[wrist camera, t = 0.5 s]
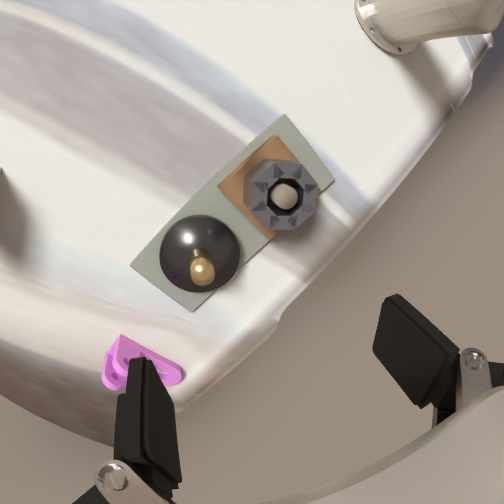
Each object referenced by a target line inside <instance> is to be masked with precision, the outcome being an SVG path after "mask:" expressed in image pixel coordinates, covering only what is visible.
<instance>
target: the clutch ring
mask: <svg viewBox="0 0 504 504" xmlns="http://www.w3.org/2000/svg"><path fill="white" fill-rule="evenodd" d="M279 178H286V179H287V180H288V181H289V182H290V187H292V188H293V189H295V191H296V192H297V196H298V198H297V202H296V204H295V205H294V206H293V207H292V208H290V209H282V208H280V207H279V206H267V193H268V188H269V187H270V186H272V185H273V184H274V183H275V182H276V181H277V180H278V179H279ZM317 192H318V184H317V182H316V181H315V180H314V178H313V177H312V176H311V175H310V173H309V172H308V171H307V169H306V168H305V167H304V166H303V164H301V163H297V162H294V161H290V160H281V159H262V160H261V161H260V162H259V163H258V164H257V165H256V166H255V167H254V168H252V169H251V170H250V171H249V172H248V173H247V174H246V175H245V176H244V188H243V203H244V204H245V205H246V206H247V207H248V208H249V210H250V211H251V212H252V213H253V214H254V215H255V216H256V217H257V218H258V219H259V220H260V221H261V222H262V223H263V224H264V225H265V226H266V227H267V229H268V230H296V229H297V228H298V227H299V226H300V225H301V224H302V223H303V222H304V221H305V220H307V219H308V218H309V217H310V216H311V215H312V214H313V213H314V212H315V208H316V200H317Z"/></svg>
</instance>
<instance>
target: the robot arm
mask: <svg viewBox="0 0 504 504" xmlns="http://www.w3.org/2000/svg"><path fill="white" fill-rule="evenodd" d="M355 12H356V15H357V18H358V21H359V23H360V24H361V26H362V28H363V29H364V31H365V32H366V34H367V35H368V36H369V37H370V38H371V40H372V41H373V42H375V43H376V44H377V45H378V46H379V47H381V48H382V49H384V50H385V51H387V52H389V53H392V54H395V55H405V54H409V53H411V52H413V51H414V50H415V48H416V47H417V44H418V42H423V41H428V40H434V39H441V38H448V37H456V36H466V35H477V34H487V33H490V32H492V31H494V30H495V29H496V28H497V26H498V25H499V23H500V21H501V18H502V16H503V14H504V0H355ZM459 350H460V349H459V348H458V347H457V346H456V345H455V344H454V343H453V342H452V341H451V340H449V338H447V337H446V336H445V335H444V334H443V333H442V332H441V331H440V330H439V329H438V328H437V327H436V326H434V325H433V324H432V323H431V322H430V321H429V320H428V319H427V318H426V317H425V316H423V315H422V314H421V313H420V312H419V311H418V310H417V309H416V308H414V307H413V306H412V305H411V304H410V303H409V302H408V301H407V300H405V299H404V298H403V297H402V296H401V295H399V294H395V295H392V296H389V297H387V298H385V300H384V302H383V303H382V307H381V312H380V316H379V322H378V326H377V330H376V335H375V339H374V343H373V352H374V354H375V356H376V357H377V358H378V359H379V360H380V362H381V363H382V364H383V366H384V367H385V368H386V369H387V371H388V372H389V373H390V374H391V376H392V377H393V378H394V379H395V381H396V382H397V383H398V385H399V386H400V387H401V388H402V390H403V391H404V392H405V393H406V395H407V396H408V397H409V399H410V400H411V401H412V403H413V404H415V405H418V406H419V408H420V409H422V408H424V407H425V406H427V405H428V404H430V402H431V403H432V404H433V419H432V429H431V430H429V431H428V432H426V433H425V434H423V435H422V436H420V437H419V438H417V439H415V440H414V441H412V442H411V443H409V444H407V445H406V446H404V447H402V448H401V449H399V450H397V451H395V452H394V453H392V454H390V455H388V456H386V457H384V458H382V459H381V460H379V461H377V462H375V463H373V464H371V465H369V466H367V467H365V468H363V469H360V470H358V471H356V472H354V473H351V474H349V475H347V476H345V477H342V478H340V479H337V480H335V481H332V482H330V483H327V484H324V485H322V486H319V487H316V488H313V489H311V490H308V491H305V492H302V493H298V494H295V495H292V496H288V497H285V498H281V499H278V500H274V501H270V502H266V503H262V504H504V363H495V362H488V361H487V358H486V356H485V355H484V353H483V352H481V351H480V350H478V349H476V348H467V349H464V350H463V351H462V352H461V354H459V353H458V352H459ZM94 481H95V485H94V486H93V487H92V488H90V489H89V490H88V491H87V492H86V493H85V494H83V495H82V496H81V497H80V498H79V499H77V500H76V501H75V502H74V503H72V504H177V503H176V502H175V501H173V500H172V499H171V498H172V497H173V495H172V489H178V483H181V482H182V476H181V469H180V461H179V452H178V443H177V433H176V423H175V410H174V404H173V401H172V399H171V397H170V395H169V394H168V392H167V390H166V388H165V386H164V384H163V382H162V380H161V378H160V376H159V374H158V372H157V370H156V368H155V366H154V364H153V362H152V360H147V359H146V357H138V358H131V359H130V360H129V367H128V376H127V386H126V393H123V394H120V395H119V396H118V400H117V411H116V423H115V437H114V460H108V461H105V462H103V463H102V464H100V465H99V466H98V467H97V469H96V471H95V474H94Z"/></svg>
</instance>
